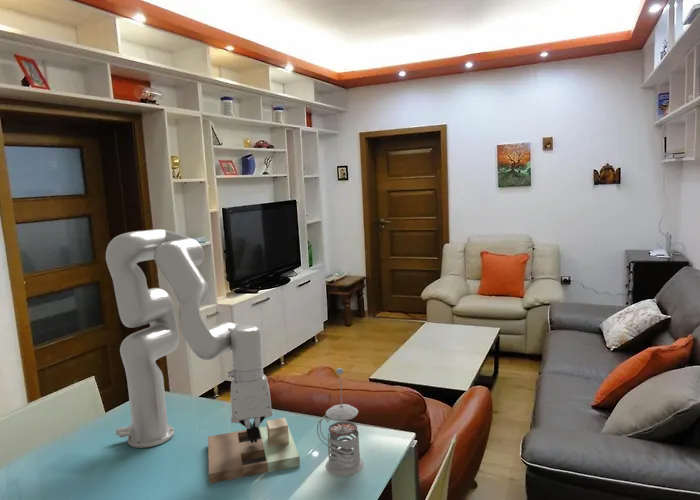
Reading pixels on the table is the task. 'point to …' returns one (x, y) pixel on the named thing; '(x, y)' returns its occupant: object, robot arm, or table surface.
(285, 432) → the maple block
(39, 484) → the table surface
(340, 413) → the french press
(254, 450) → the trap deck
